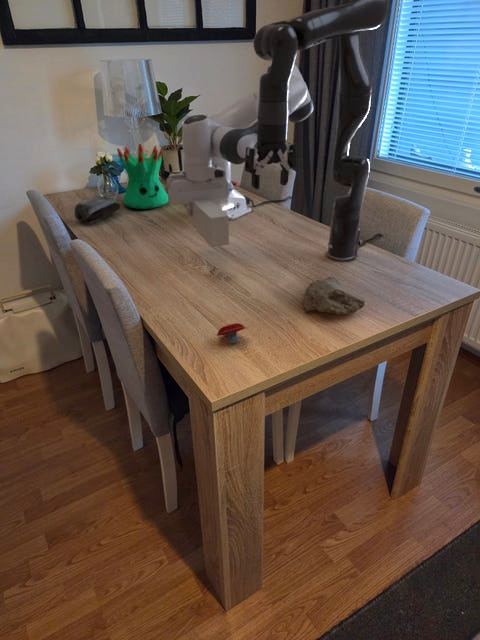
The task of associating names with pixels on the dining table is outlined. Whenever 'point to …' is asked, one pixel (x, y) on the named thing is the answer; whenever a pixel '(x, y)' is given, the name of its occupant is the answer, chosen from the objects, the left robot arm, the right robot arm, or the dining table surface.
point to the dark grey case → (95, 209)
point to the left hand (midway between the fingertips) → (200, 214)
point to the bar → (210, 222)
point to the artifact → (331, 297)
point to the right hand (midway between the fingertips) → (270, 186)
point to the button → (231, 331)
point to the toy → (143, 179)
